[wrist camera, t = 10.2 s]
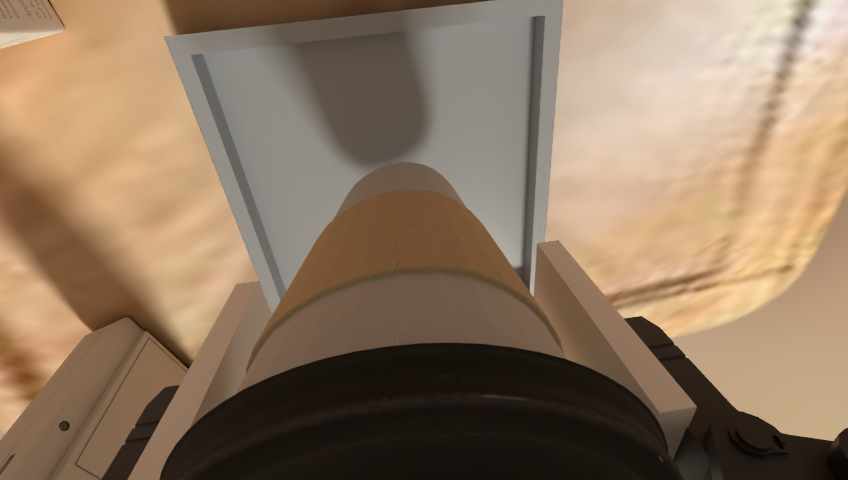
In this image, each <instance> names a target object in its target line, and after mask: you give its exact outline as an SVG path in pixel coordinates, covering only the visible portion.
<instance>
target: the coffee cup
mask: <svg viewBox="0 0 848 480" xmlns="http://www.w3.org/2000/svg"><path fill="white" fill-rule="evenodd" d="M159 480H684V479H683V477H682V475H681V473H680V471H679V469H678V467H677V465H676V463H675V462H674V460H673V459H672V458H671V456H670V455H669V454H668V445H667V442H666V438H665V434H664V432H663V430H662V428H661V426H660V424H659V422H658V420H657V419H656V417H655V416H654V415H653V413H652V412H651V410H650V409H649V408H648V407H647V406H646V405H645V404H644V403H643V402H642V401H641V400H640V399H639V398H638V397H637V396H636V395H634V394H633V393H632V392H631V391H629V390H628V389H627V388H626V387H624V386H622V385H621V384H619V383H617V382H616V381H614V380H612V379H611V378H609V377H607V376H605V375H603V374H601V373H599V372H597V371H595V370H593V369H591V368H589V367H586V366H583V365H581V364H578V363H575V362H572V361H570V360H568V359H567V358H566V356H565V355H564V351H563V348H562V344H561V341H560V338H559V336H558V335H557V333H556V331H555V330H554V328H553V326H552V324H551V323H550V321H549V319H548V318H547V316H546V314H545V313H544V311H543V310H542V309H541V307H540V306H539V304H538V303H537V301H536V300H535V299H534V297H533V296H532V294H531V293H530V291H529V290H528V288H527V287H526V286H525V284H524V283H523V281H522V280H521V278H520V277H519V275H518V274H517V273H516V271H515V270H514V268H513V267H512V265H511V264H510V262H509V261H508V260H507V258H506V257H505V255H504V254H503V252H502V251H501V250H500V248H499V247H498V245H497V244H496V242H495V241H494V239H493V238H492V237H491V235H490V234H489V232H488V231H487V229H486V228H485V226H484V225H483V224H482V223H481V222H480V220H479V219H478V218H477V217H476V216H475V215H474V214H473V213H472V212H471V211H470V210H469V209H467V207H466V206H465V204H464V203H463V201H462V200H461V198H460V197H459V195H458V194H457V192H456V191H455V189H454V188H453V187H452V185H451V184H450V183H449V182H448V181H447V180H446V179H445V177H444V176H442V175H441V174H440V173H438V172H437V171H436V170H434V169H432V168H430V167H428V166H426V165H423V164H418V163H413V162H401V163H394V164H390V165H386V166H383V167H381V168H378V169H376V170H374V171H372V172H370V173H369V174H367V175H366V176H364V177H363V178H362V179H361V180H359V181H358V182H357V183H356V184H355V185H354V186H353V188H352V189H351V191H350V192H349V193H348V195H347V196H346V198H345V200H344V202H343V203H342V205H341V207H340V208H339V210H338V212H337V214H336V215H335V217H334V219H333V221H332V222H330V223H329V224H328V225H327V226H326V228H325V229H324V230H323V232H322V233H321V235H320V236H319V237H318V239H317V240H316V242H315V243H314V245H313V247H312V249H311V250H310V252H309V254H308V255H307V257H306V259H305V260H304V262H303V264H302V266H301V267H300V269H299V271H298V272H297V274H296V276H295V277H294V279H293V281H292V283H291V284H290V286H289V288H288V289H287V291H286V293H285V294H284V296H283V298H282V300H281V301H280V303H279V305H278V306H277V308H276V310H275V311H274V313H273V315H272V317H271V318H270V320H269V322H268V323H267V325H266V327H265V328H264V330H263V332H262V334H261V335H260V337H259V339H258V340H257V342H256V344H255V346H254V348H253V351H252V353H251V356H250V359H249V362H248V365H247V368H246V376H245V377H244V379H243V381H242V383H241V385H240V386H239V388H238V390H237V392H236V394H235V395H233V396H232V397H230V398H228V399H227V400H225V401H223V402H222V403H220V404H219V405H218V406H216V407H215V408H213V409H212V410H211V411H209V412H208V413H207V414H205V415H204V416H203V417H202V418H200V419H199V420H198V421H197V422H196V423H195V424H194V425H193V426H192V427H191V428H189V429H188V431H187V432H186V433H185V434H184V435H183V436H182V438H181V439H180V440H179V441H178V442H177V443H176V445H175V446H174V448H173V450H172V451H171V453H170V455H169V456H168V458H167V460H166V462H165V464H164V467H163V469H162V471H161V475H160V479H159Z"/></svg>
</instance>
